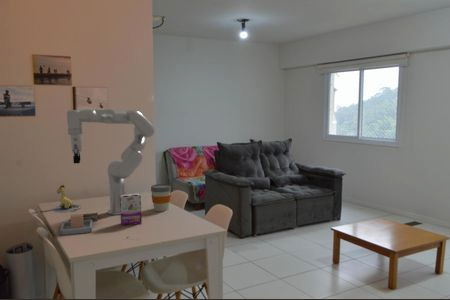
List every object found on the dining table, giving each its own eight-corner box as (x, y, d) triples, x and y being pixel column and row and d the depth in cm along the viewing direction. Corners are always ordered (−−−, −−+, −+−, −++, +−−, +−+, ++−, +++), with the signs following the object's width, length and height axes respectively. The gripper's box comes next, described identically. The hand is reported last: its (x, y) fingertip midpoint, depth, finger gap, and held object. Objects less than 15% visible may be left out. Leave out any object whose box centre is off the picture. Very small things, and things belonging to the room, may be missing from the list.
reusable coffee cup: (173, 206, 245) (173, 184, 244) (168, 212, 233) (168, 188, 231) (154, 206, 247) (154, 183, 245) (148, 211, 234) (148, 187, 233)
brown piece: (97, 216, 225) (97, 212, 225) (97, 220, 216) (97, 216, 215) (72, 218, 221) (72, 214, 221) (71, 223, 211) (70, 218, 211)
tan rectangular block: (83, 226, 203) (83, 214, 202) (83, 228, 200) (82, 215, 199) (71, 228, 201) (70, 215, 200) (71, 229, 198) (70, 216, 197)
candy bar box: (141, 221, 214) (140, 192, 213) (141, 223, 210) (140, 194, 208) (120, 222, 211) (119, 194, 210) (120, 225, 207) (119, 196, 205)
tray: (92, 224, 210) (92, 219, 209) (91, 232, 195) (91, 227, 195) (63, 226, 205) (63, 222, 205) (60, 235, 191) (59, 230, 191)
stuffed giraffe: (61, 205, 252) (60, 181, 250) (85, 207, 248) (84, 183, 246) (45, 212, 237) (43, 187, 234) (70, 214, 233) (69, 189, 231)
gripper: (81, 132, 206) (83, 163, 208) (82, 130, 222) (84, 159, 224) (67, 133, 203) (69, 164, 205) (68, 131, 220) (70, 160, 222)
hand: (77, 162), depth 215 cm, fingers open, 9 cm apart
